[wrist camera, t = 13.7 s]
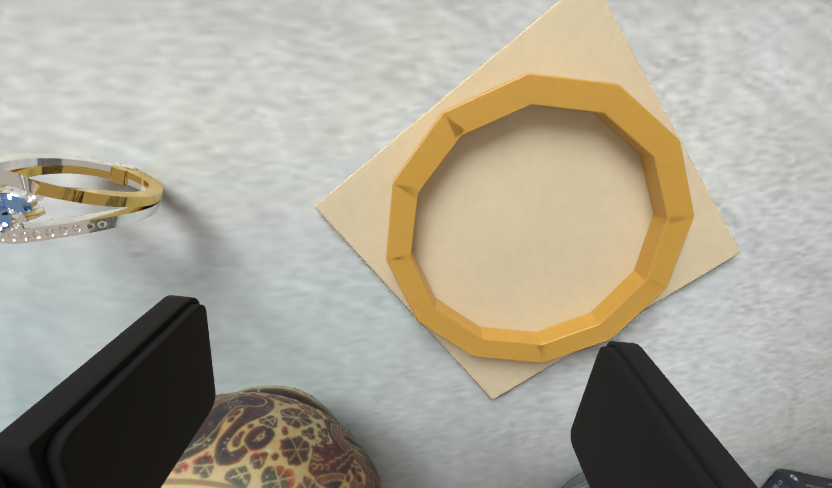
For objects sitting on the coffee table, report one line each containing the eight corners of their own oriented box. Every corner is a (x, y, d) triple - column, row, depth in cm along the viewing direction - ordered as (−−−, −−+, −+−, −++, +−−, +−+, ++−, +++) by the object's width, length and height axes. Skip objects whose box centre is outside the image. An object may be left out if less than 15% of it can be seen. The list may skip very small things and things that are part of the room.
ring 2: (583, -7, 18) (596, -15, 17) (727, 251, 23) (745, 260, 22) (324, 208, 22) (319, 216, 21) (493, 392, 27) (496, 407, 26)
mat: (587, -23, 19) (591, -26, 18) (735, 249, 24) (741, 252, 23) (316, 204, 23) (314, 206, 22) (491, 394, 28) (492, 400, 27)
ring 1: (63, 177, 22) (-116, 219, 15) (66, 122, 21) (-126, 137, 14) (187, 218, 23) (76, 277, 16) (195, 167, 22) (81, 204, 14)
